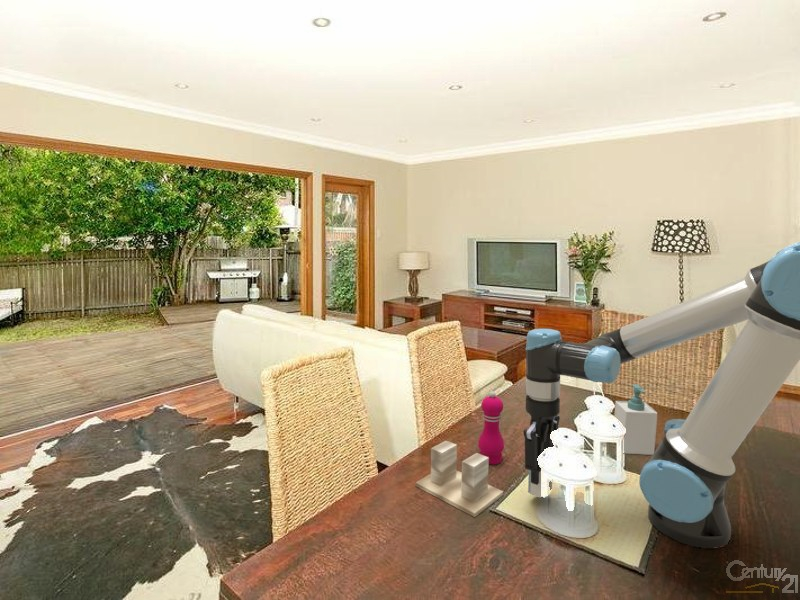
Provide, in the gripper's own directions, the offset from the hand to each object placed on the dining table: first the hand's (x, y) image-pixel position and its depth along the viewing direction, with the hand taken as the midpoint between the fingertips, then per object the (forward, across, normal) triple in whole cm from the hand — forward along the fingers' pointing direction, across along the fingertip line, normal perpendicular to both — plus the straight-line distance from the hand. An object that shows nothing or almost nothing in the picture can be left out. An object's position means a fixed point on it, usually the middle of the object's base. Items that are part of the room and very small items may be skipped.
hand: (541, 490), depth 106 cm
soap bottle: (+3, -44, +7) cm, 45 cm away
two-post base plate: (+2, +10, -17) cm, 20 cm away
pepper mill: (+2, -9, -20) cm, 22 cm away
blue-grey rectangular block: (0, 0, 0) cm, 1 cm away
